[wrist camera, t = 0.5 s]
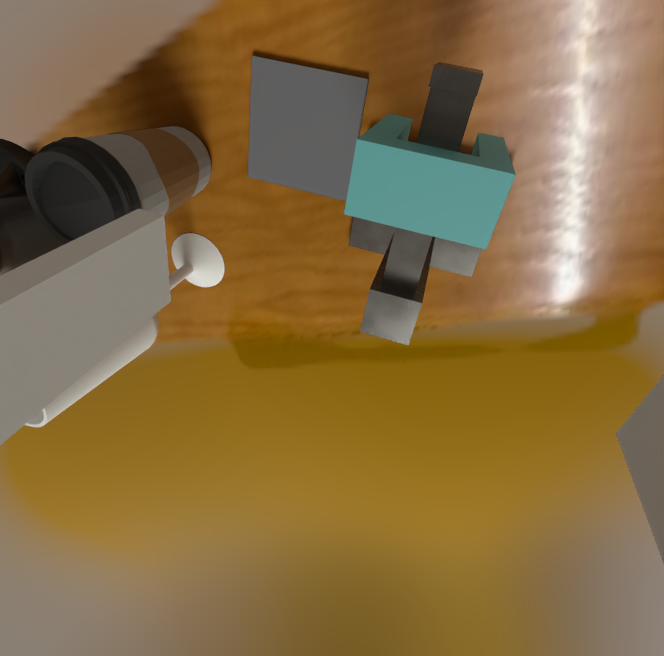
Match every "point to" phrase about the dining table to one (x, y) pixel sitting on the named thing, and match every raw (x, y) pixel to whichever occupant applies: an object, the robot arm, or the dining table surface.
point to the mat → (304, 126)
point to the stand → (411, 247)
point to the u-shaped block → (429, 184)
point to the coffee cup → (114, 177)
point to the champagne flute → (193, 265)
